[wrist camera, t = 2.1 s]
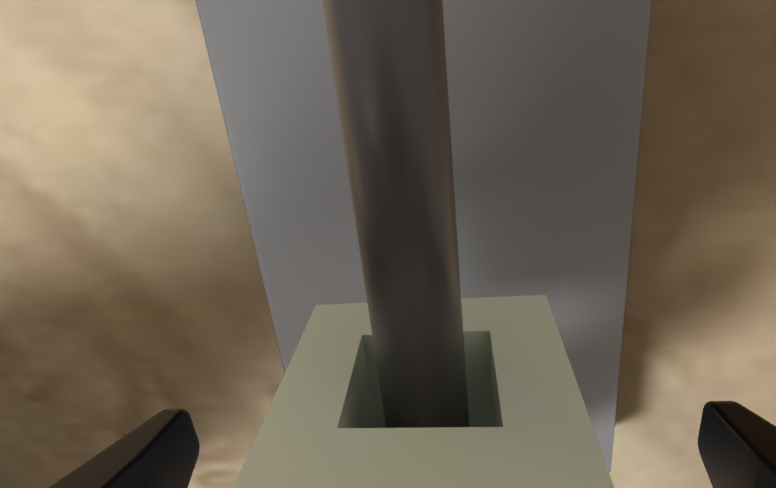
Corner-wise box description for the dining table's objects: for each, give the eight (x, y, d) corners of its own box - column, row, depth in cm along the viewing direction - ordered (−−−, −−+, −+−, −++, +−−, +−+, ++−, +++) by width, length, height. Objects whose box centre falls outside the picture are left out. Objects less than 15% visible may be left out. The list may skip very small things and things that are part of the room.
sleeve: (543, 468, 10) (597, 723, 6) (347, 467, 11) (297, 701, 7) (545, 295, 8) (619, 502, 5) (315, 305, 9) (228, 498, 5)
